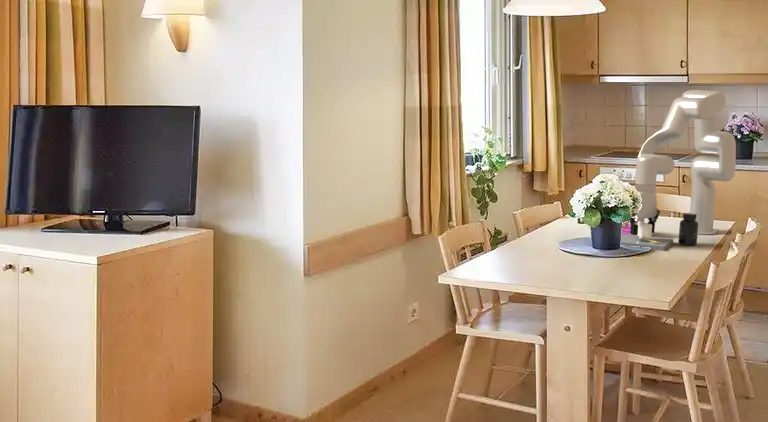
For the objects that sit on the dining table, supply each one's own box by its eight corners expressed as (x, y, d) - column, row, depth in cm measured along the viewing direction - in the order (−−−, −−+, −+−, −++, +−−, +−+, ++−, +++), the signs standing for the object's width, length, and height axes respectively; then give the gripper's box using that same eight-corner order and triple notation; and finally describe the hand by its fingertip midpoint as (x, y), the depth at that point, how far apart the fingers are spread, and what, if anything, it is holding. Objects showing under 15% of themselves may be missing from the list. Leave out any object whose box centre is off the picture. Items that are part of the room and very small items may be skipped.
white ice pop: (633, 237, 347) (634, 221, 346) (637, 236, 348) (638, 221, 347) (654, 243, 335) (656, 226, 335) (659, 242, 336) (660, 226, 335)
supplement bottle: (698, 246, 341) (700, 215, 339) (679, 245, 342) (681, 214, 340) (695, 243, 347) (697, 212, 346) (677, 242, 349) (679, 211, 347)
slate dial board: (621, 237, 356) (621, 233, 356) (673, 242, 347) (673, 238, 347) (609, 244, 341) (609, 240, 341) (663, 250, 331) (663, 246, 331)
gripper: (653, 186, 348) (650, 230, 351) (621, 188, 339) (618, 233, 342) (668, 188, 342) (665, 233, 345) (636, 191, 333) (633, 237, 336)
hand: (642, 233), depth 343 cm, fingers open, 8 cm apart
